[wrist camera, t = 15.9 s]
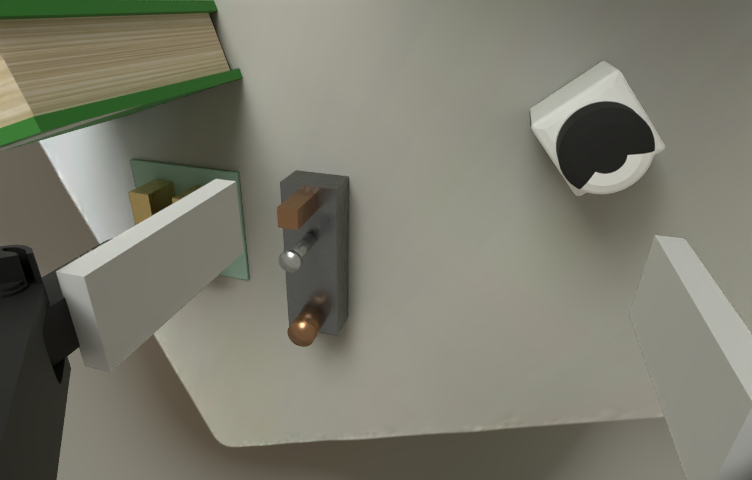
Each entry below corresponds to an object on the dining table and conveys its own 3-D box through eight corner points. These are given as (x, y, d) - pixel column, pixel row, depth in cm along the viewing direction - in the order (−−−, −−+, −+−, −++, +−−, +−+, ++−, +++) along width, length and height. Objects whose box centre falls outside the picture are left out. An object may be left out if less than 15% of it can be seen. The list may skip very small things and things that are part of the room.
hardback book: (213, 0, 47) (-31, -2, 26) (242, 77, 49) (41, 131, 29) (84, 52, 53) (-198, 84, 32) (116, 118, 56) (-126, 187, 35)
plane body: (296, 170, 52) (255, 200, 44) (348, 176, 51) (316, 208, 43) (302, 308, 60) (269, 354, 52) (347, 316, 59) (321, 365, 51)
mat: (132, 159, 57) (130, 160, 57) (238, 172, 54) (236, 173, 54) (153, 261, 64) (151, 263, 63) (249, 278, 61) (248, 280, 60)
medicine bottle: (527, 109, 44) (530, 142, 33) (604, 58, 40) (633, 77, 30) (569, 172, 45) (584, 223, 35) (646, 128, 42) (688, 169, 31)
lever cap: (155, 179, 57) (123, 194, 53) (215, 186, 56) (187, 203, 51) (168, 253, 62) (140, 273, 57) (224, 262, 60) (200, 284, 55)
